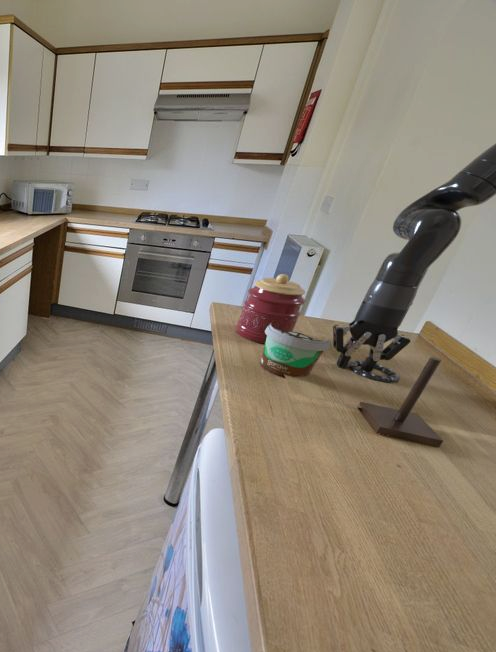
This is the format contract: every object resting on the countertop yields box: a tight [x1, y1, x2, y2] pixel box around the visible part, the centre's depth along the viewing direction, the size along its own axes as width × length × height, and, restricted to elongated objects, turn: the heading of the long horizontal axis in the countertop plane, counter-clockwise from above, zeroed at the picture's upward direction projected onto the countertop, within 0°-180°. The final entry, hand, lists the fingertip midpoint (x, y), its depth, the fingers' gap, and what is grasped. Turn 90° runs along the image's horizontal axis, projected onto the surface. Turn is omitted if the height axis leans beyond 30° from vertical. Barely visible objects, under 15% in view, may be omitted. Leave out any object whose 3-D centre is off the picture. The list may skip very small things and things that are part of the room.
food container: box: [260, 324, 332, 379], centre depth 92 cm, size 12×6×10 cm, turn 44°
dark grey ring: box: [346, 360, 401, 384], centre depth 95 cm, size 9×9×2 cm
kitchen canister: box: [235, 273, 307, 345], centre depth 110 cm, size 13×13×18 cm
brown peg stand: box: [356, 356, 444, 448], centre depth 74 cm, size 9×9×14 cm
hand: (352, 370), depth 96 cm, fingers open, 3 cm apart
